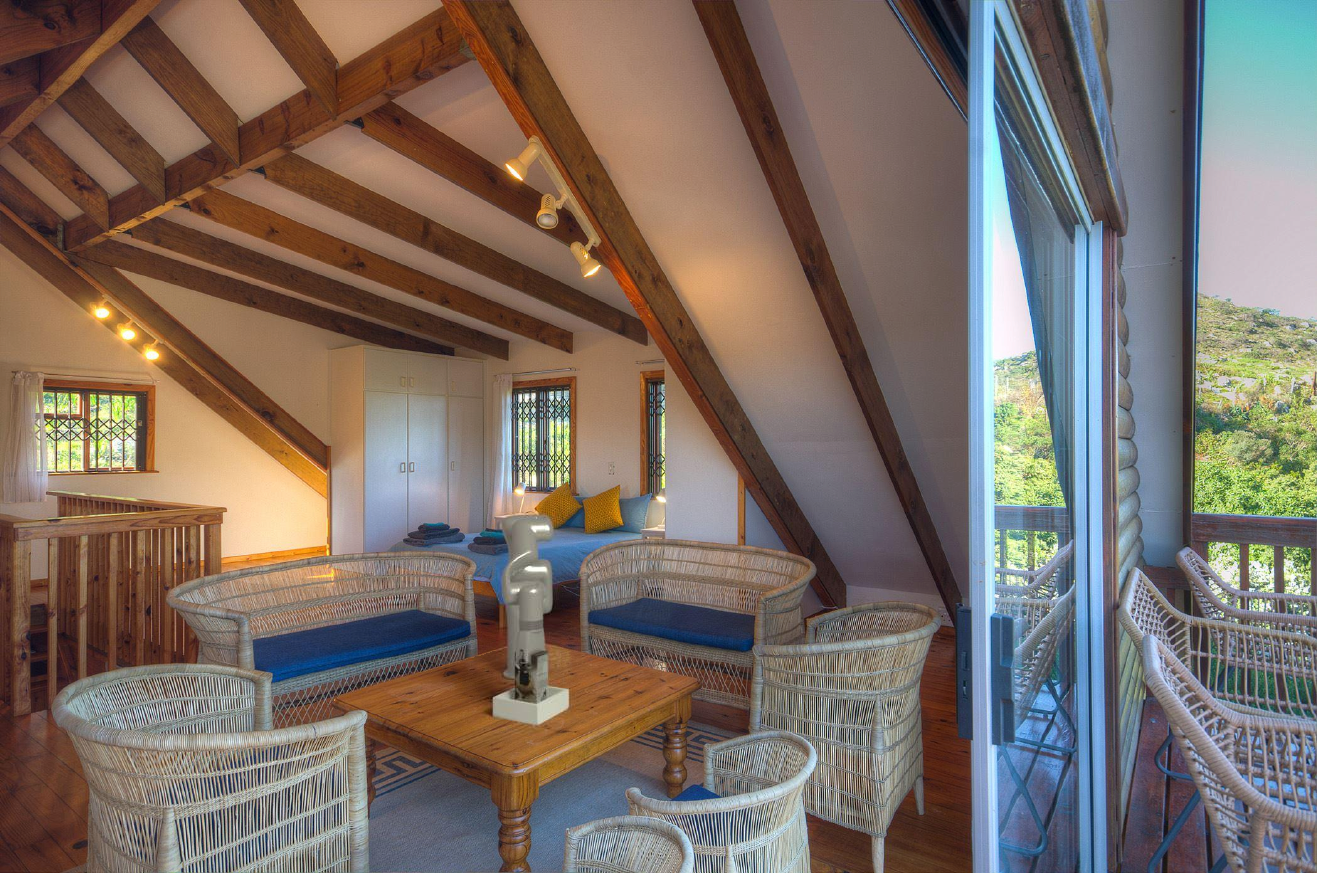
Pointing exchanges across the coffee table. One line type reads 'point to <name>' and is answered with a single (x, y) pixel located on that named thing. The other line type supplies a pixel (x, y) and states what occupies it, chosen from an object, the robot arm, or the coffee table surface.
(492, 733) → the coffee table surface
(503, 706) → the bin
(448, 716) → the coffee table surface
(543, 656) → the coffee box
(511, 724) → the coffee table surface
